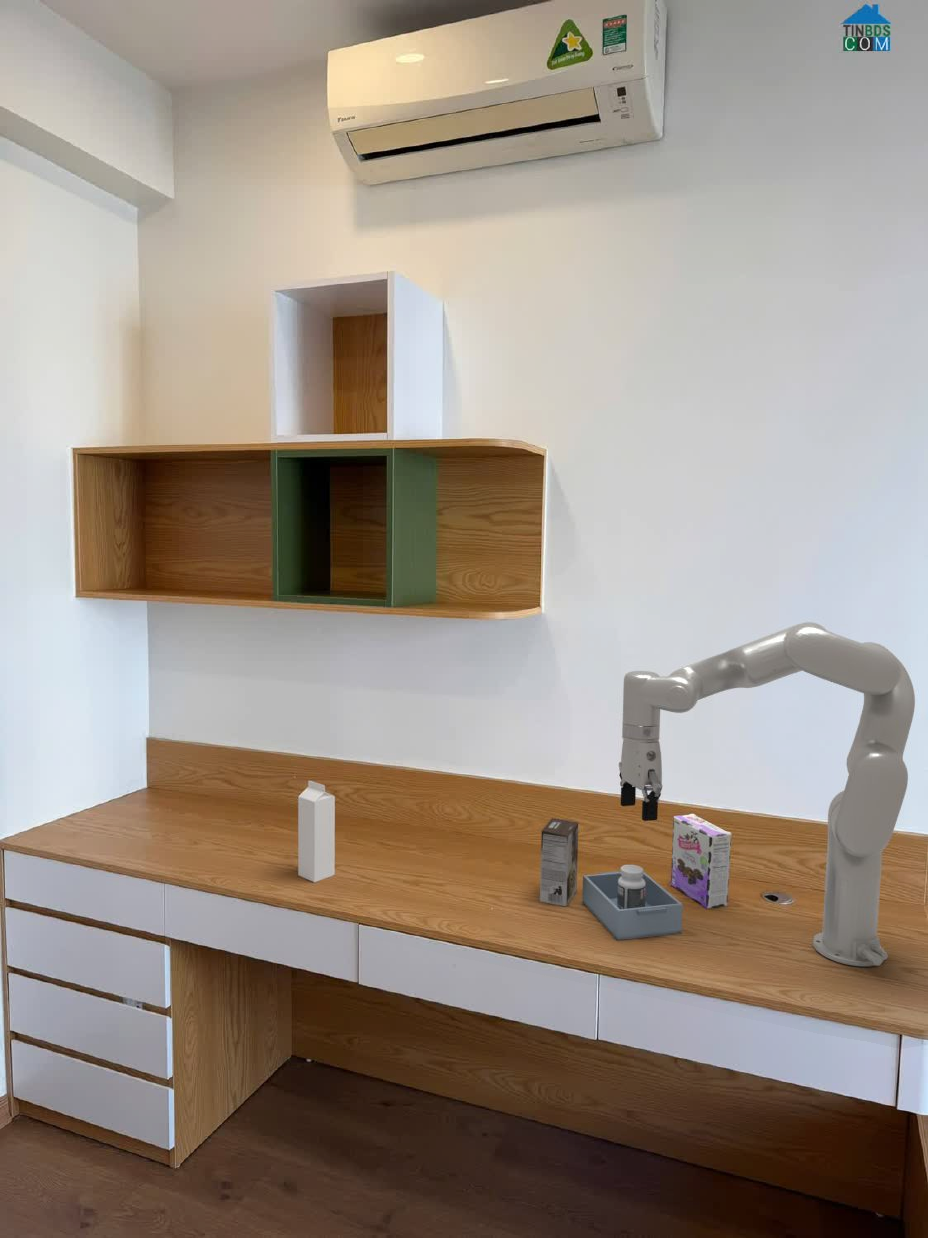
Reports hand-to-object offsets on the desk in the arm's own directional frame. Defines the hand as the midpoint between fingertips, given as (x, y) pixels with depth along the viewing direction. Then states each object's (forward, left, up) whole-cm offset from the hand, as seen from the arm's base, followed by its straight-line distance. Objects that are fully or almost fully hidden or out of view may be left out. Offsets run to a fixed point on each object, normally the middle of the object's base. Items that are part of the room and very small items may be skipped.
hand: (638, 812), depth 175 cm
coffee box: (+13, +12, -23) cm, 29 cm away
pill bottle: (0, +1, -22) cm, 22 cm away
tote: (0, +1, -22) cm, 22 cm away
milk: (+36, +63, -23) cm, 76 cm away
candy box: (+7, -19, -23) cm, 30 cm away
